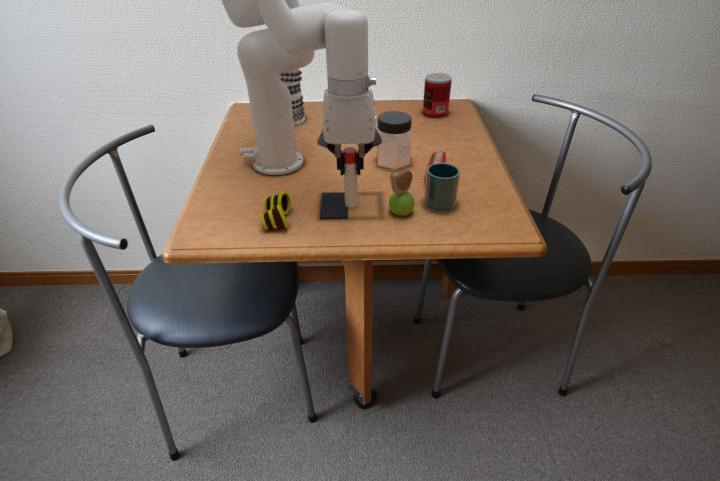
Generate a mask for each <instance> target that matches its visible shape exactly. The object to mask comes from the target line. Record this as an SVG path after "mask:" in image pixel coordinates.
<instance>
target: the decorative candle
mask: <svg viewBox="0 0 720 481" xmlns="http://www.w3.org/2000/svg"><path fill="white" fill-rule="evenodd" d="M302 74H303V72H302V71H301V70H300V68H299V69H295V70H292V71H288V72H285V73H282V74H280V75H279V77H280V79H281V81H282V82H283V83H284V84H285V85H286V87H287V88H288V90H289V92H290V96H291V104H292V114H293V124H294V126H297V125H300V124H302V123H304V122H305V120H306V118H305V116H306V114H305V107H304V106H303V105H305V102H304V96H303V91H302V88H301V82H302V80H303V77H302V76H301V75H302Z"/></svg>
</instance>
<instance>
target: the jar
mask: <svg viewBox="0 0 720 481" xmlns="http://www.w3.org/2000/svg"><path fill="white" fill-rule="evenodd" d="M377 117H378V125H377V131H378V133H379V134H380V136H381V138H382V144H380V145H378V146H376V161H377V165H378V166H379V167H384V168H388V169H392V170H397V169H400V168H403V167H406V166H409V165H410V164H411V163H410V162H411V151H412V150H411V149H412V148H411V147H412V126H413V125H412V123H413V121H412V116H411V114H409V113H407V112H404V111H400V110H399V111H398V110H389V111H384V112H382V113H380V114H379V115H378V116H377Z"/></svg>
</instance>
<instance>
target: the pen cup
mask: <svg viewBox="0 0 720 481" xmlns="http://www.w3.org/2000/svg"><path fill="white" fill-rule="evenodd" d="M426 171H427V172H426ZM426 171H425V175H426V184H425V183H424V196H423V198H424V199H423V204H424V205H425V207H426V208H428V209H429V210H432V211H435V212H447V211H451V210H453V209H454V208H455V207H456V205H457V198H458V192H459V184H460V178H461V177H460V176H461V170H460V168H459V167H458V166H456V165H455V164H452V163H447V162H445V163H436V164H432V165H430V166H429V167H428V166H427V168H426Z"/></svg>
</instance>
